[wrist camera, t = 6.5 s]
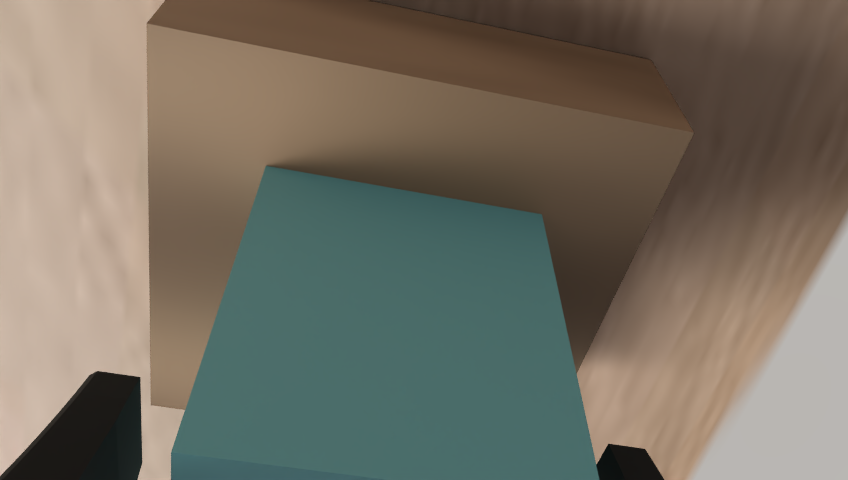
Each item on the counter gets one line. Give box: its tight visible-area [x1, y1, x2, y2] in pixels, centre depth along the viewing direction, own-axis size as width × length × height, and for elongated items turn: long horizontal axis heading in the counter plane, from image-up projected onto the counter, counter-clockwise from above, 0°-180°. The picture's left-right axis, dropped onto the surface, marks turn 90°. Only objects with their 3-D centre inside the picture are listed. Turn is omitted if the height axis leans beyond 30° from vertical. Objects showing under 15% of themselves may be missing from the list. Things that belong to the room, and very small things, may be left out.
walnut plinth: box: [147, 0, 694, 410], centre depth 16 cm, size 9×9×3 cm
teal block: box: [171, 166, 599, 480], centre depth 12 cm, size 5×5×6 cm
